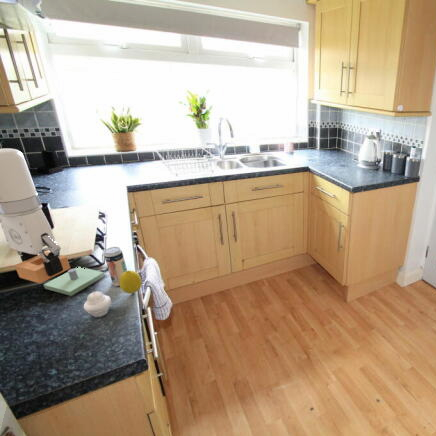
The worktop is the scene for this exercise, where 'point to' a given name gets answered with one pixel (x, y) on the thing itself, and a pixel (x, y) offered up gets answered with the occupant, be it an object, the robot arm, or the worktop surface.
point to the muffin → (97, 304)
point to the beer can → (115, 264)
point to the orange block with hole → (38, 268)
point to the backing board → (74, 280)
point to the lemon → (130, 282)
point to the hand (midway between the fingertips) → (44, 269)
